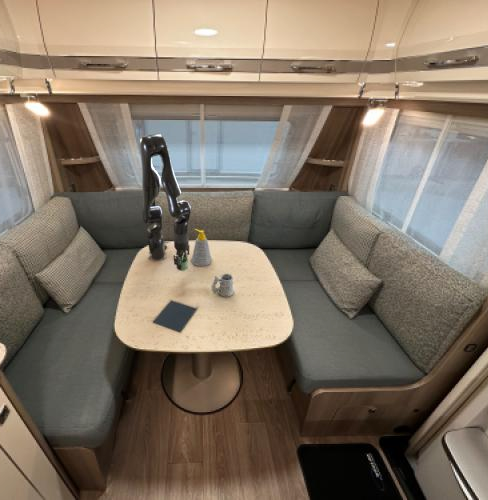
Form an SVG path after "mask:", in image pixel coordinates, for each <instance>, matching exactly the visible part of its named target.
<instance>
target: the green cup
mask: <svg viewBox="0 0 488 500" xmlns="http://www.w3.org/2000/svg"><path fill="white" fill-rule="evenodd" d="M179 258H180V257H179ZM180 259H181V258H180ZM179 262H180V260H179ZM175 267H176V268H177V265H175ZM188 268H189V258H188V257H187V258H186V257H183V260H182V261H181V270H179V271H180V272H184V271H186V270H188Z"/></svg>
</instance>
